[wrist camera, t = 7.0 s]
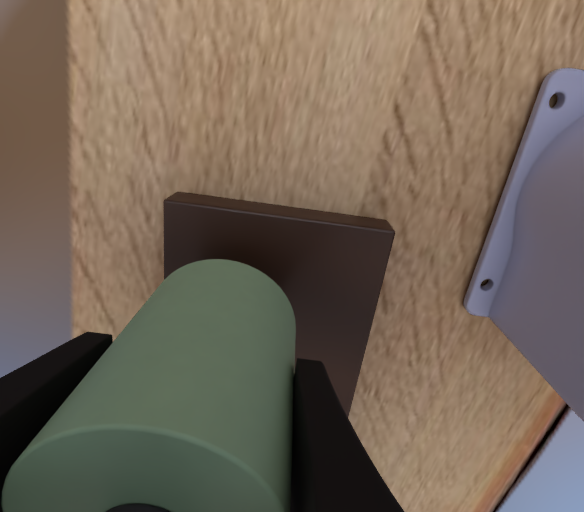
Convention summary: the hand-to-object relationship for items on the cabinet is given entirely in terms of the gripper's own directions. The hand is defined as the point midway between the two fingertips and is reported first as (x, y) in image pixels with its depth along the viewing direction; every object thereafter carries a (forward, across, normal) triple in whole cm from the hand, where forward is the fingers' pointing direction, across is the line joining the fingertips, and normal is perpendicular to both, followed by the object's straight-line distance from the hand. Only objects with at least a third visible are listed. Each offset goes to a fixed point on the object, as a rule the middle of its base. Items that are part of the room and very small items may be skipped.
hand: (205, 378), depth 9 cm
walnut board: (+7, -1, +7) cm, 10 cm away
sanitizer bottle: (+2, 0, 0) cm, 2 cm away
